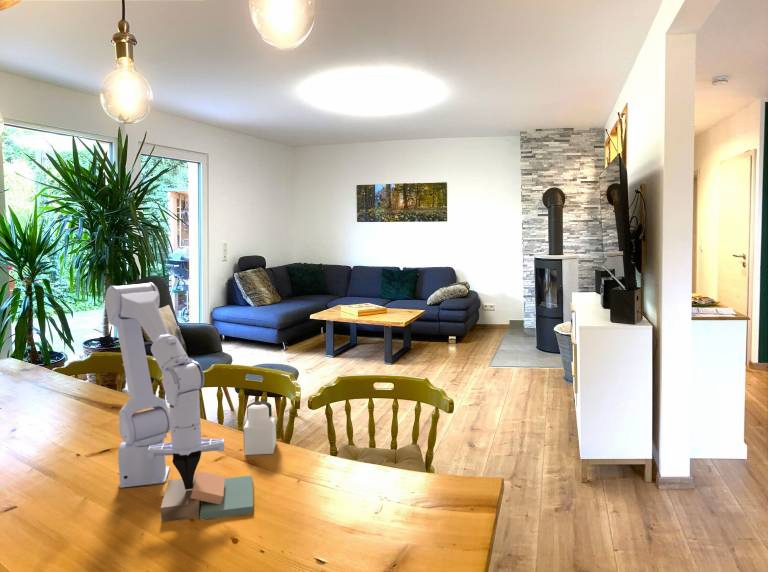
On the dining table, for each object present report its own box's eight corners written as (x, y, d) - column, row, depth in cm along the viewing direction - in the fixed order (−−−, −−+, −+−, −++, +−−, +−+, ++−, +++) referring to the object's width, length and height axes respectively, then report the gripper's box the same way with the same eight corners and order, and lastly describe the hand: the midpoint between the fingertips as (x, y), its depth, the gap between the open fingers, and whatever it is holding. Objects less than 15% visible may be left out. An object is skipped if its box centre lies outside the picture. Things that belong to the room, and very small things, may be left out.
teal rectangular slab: (200, 520, 111) (200, 512, 111) (205, 487, 124) (205, 480, 124) (253, 513, 113) (253, 506, 113) (252, 481, 127) (252, 475, 126)
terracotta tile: (190, 498, 112) (193, 489, 112) (194, 477, 121) (197, 470, 121) (220, 504, 114) (223, 496, 114) (222, 484, 122) (224, 476, 122)
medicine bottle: (248, 444, 148) (246, 399, 146) (276, 443, 148) (274, 398, 147) (244, 455, 141) (242, 408, 139) (273, 454, 141) (271, 407, 140)
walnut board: (161, 522, 110) (160, 507, 110) (169, 493, 122) (168, 480, 121) (199, 517, 112) (198, 503, 111) (203, 489, 123) (203, 476, 123)
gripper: (143, 433, 109) (147, 500, 111) (222, 426, 113) (225, 491, 114) (149, 421, 116) (153, 484, 118) (223, 414, 119) (226, 476, 121)
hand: (189, 487), depth 116 cm, fingers closed
